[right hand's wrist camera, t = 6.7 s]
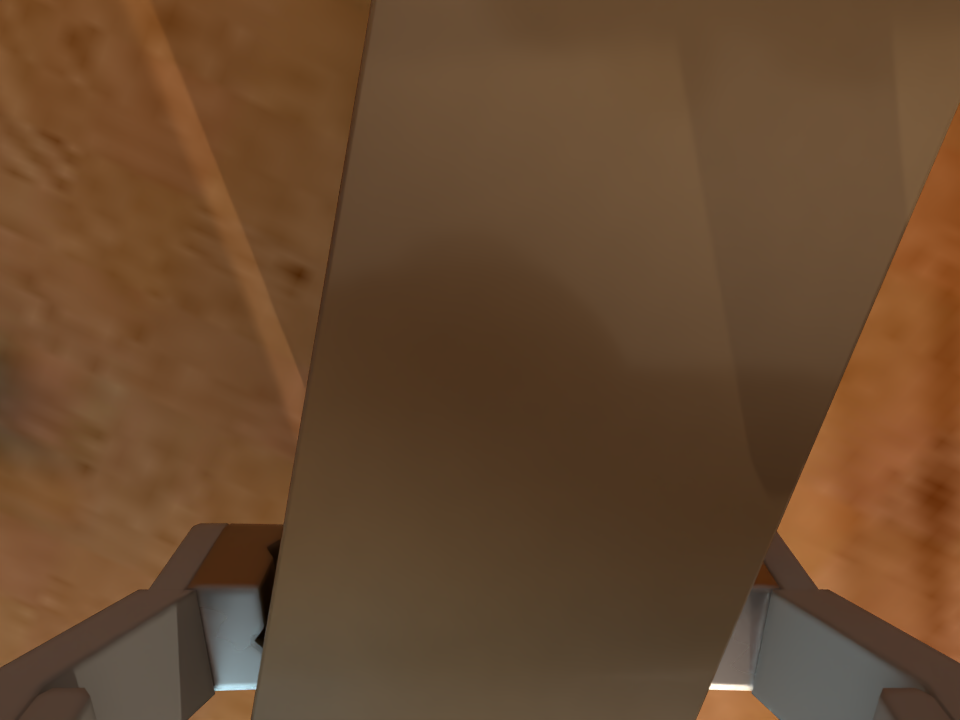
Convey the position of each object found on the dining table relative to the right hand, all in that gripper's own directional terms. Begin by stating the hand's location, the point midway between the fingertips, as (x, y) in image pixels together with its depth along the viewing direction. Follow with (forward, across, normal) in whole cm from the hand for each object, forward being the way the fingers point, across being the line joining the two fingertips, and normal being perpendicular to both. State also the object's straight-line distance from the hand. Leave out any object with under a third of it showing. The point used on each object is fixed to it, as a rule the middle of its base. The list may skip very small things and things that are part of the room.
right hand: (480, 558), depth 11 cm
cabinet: (+7, -1, -4) cm, 8 cm away
